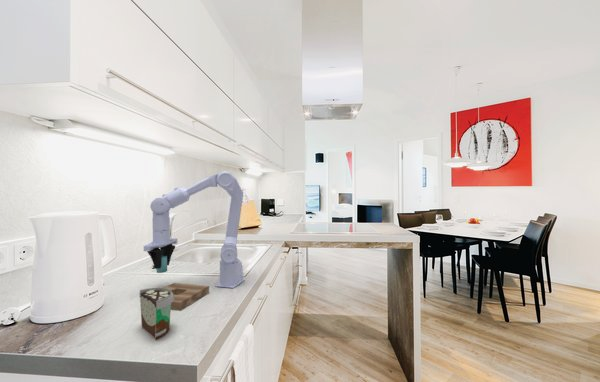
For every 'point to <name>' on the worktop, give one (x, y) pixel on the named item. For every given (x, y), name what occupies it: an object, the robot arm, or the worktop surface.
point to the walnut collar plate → (186, 294)
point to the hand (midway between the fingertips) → (162, 266)
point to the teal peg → (163, 265)
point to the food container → (156, 311)
